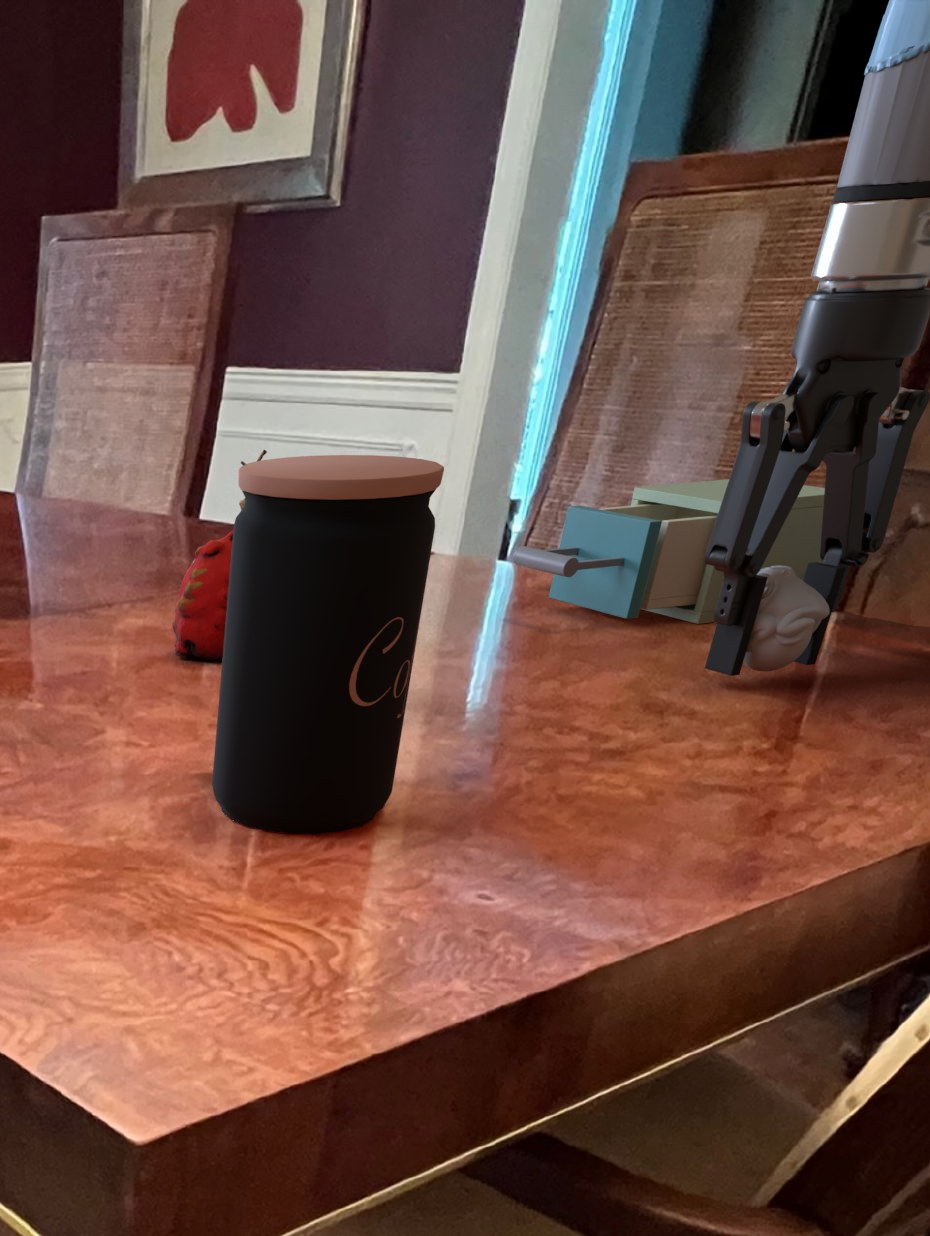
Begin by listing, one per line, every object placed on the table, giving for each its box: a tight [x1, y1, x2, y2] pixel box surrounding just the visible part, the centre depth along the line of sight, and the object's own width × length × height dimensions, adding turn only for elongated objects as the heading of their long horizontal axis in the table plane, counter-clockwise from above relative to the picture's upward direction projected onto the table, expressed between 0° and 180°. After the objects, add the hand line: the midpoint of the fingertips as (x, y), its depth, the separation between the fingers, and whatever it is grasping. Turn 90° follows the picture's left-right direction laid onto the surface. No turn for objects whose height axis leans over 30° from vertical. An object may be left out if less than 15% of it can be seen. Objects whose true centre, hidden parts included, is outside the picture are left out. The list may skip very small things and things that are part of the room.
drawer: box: [512, 503, 718, 620], centre depth 120 cm, size 18×11×7 cm, turn 108°
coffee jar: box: [211, 454, 445, 835], centre depth 77 cm, size 11×11×18 cm
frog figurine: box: [742, 565, 830, 672], centre depth 100 cm, size 6×7×7 cm
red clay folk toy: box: [172, 449, 268, 662], centre depth 111 cm, size 8×7×15 cm
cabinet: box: [630, 478, 825, 625], centre depth 123 cm, size 13×12×9 cm
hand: (759, 665), depth 102 cm, fingers closed on frog figurine, 6 cm apart
